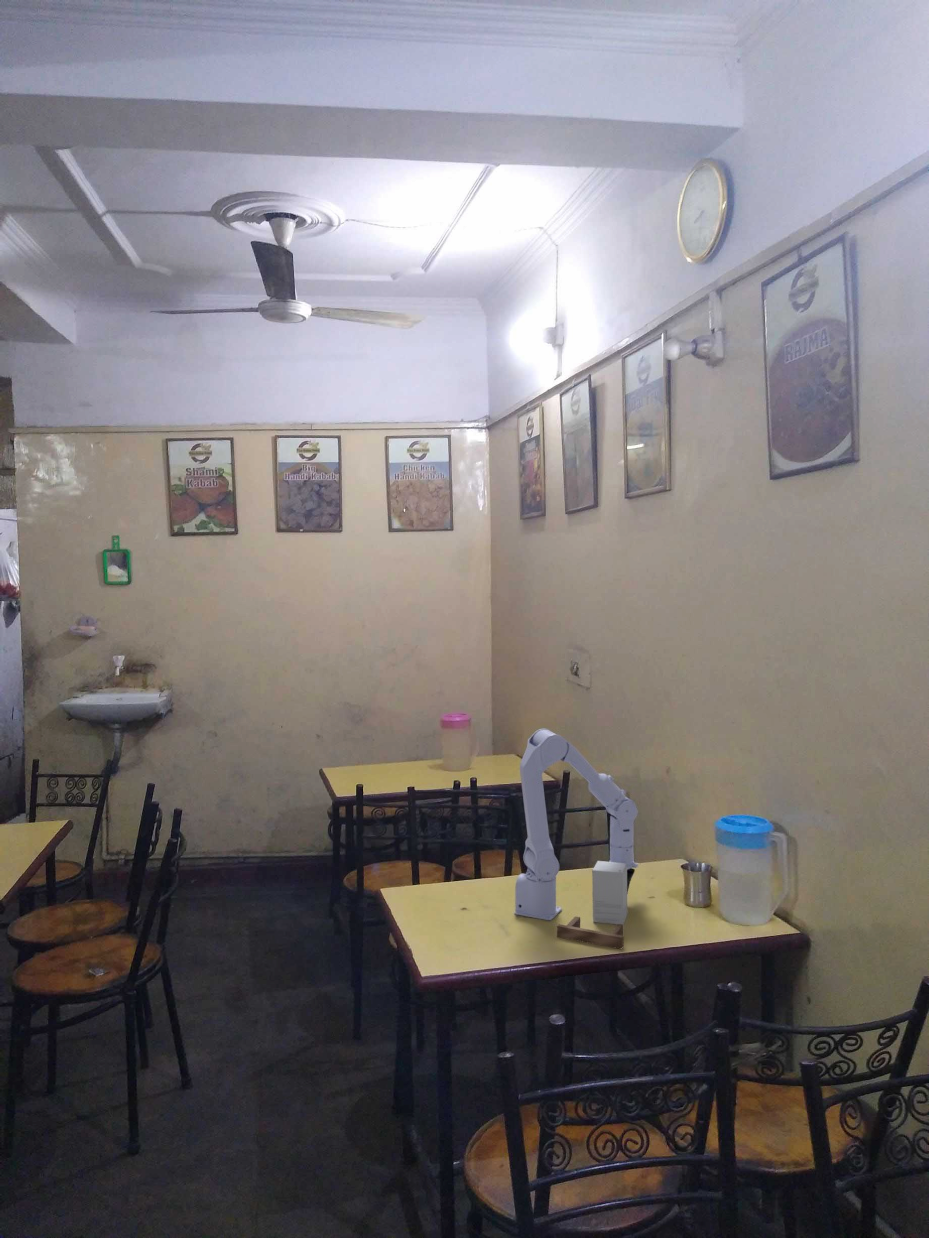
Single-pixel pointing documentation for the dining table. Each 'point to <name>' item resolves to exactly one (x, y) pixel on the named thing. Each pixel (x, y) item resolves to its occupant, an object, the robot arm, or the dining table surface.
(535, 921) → the dining table surface
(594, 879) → the supplement box
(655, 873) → the dining table surface
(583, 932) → the walnut clip
